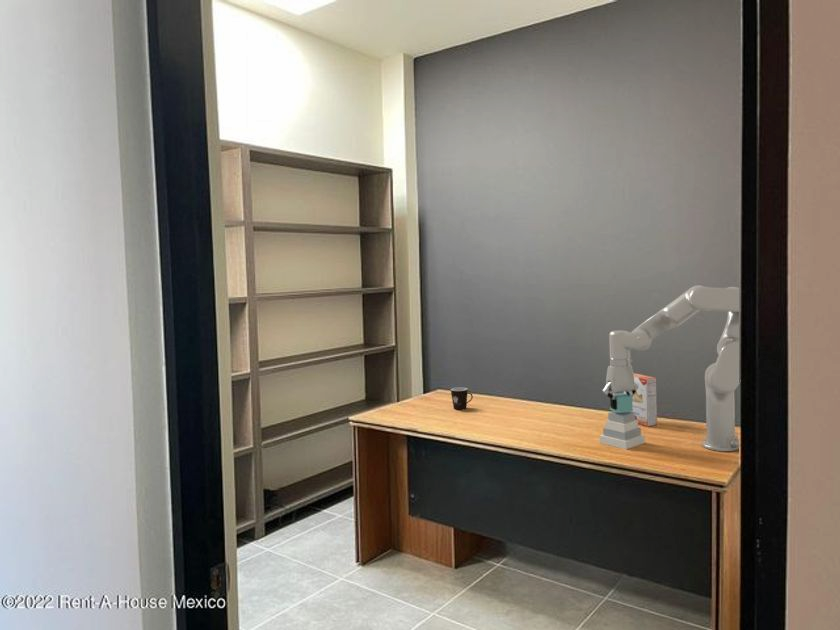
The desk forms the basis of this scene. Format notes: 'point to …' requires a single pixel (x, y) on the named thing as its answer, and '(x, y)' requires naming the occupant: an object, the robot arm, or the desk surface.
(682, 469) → the desk surface
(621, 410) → the small aqua cube
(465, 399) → the coffee mug
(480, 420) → the desk surface
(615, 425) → the tower
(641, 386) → the cracker box
